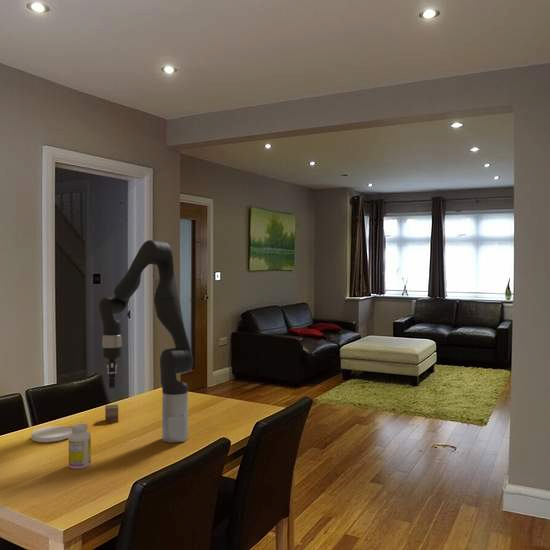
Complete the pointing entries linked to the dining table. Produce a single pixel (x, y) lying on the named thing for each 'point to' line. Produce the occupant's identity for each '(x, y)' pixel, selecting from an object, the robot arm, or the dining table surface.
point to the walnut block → (111, 413)
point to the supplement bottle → (79, 447)
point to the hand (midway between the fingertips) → (111, 385)
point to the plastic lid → (51, 434)
